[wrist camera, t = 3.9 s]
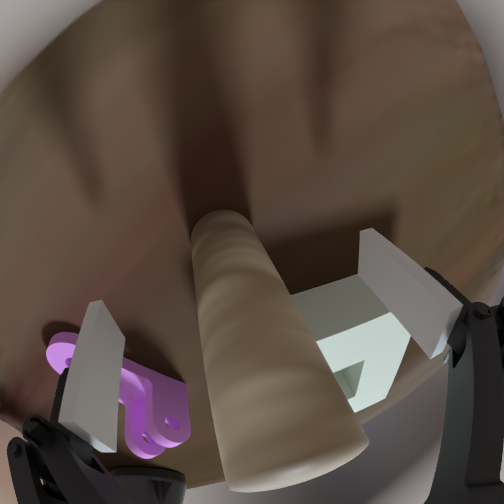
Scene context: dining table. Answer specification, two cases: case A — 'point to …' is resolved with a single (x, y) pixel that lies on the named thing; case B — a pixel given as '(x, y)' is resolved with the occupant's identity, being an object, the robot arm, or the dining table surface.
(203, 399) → the dining table surface
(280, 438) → the peg
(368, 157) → the dining table surface
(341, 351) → the socket block
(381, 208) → the dining table surface
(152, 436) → the bracket
